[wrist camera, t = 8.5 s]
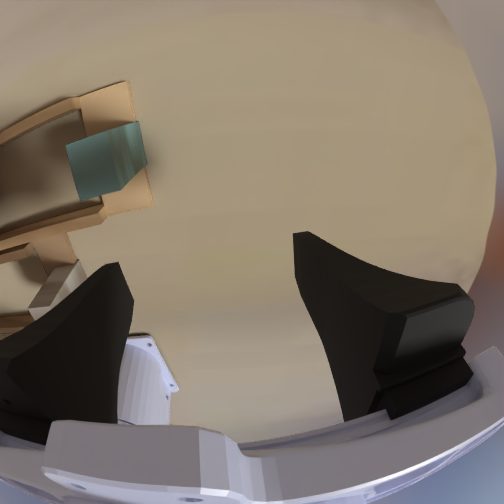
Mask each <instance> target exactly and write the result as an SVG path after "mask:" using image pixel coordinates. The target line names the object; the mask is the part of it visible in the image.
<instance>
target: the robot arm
mask: <svg viewBox="0 0 504 504" xmlns="http://www.w3.org/2000/svg"><path fill="white" fill-rule="evenodd" d="M293 245H294V267H295V278H296V281H297V285H298V288H299V291H300V294H301V297H302V299H303V301H304V303H305V306H306V308H307V310H308V312H309V314H310V316H311V319H312V321H313V323H314V325H315V327H316V329H317V331H318V334H319V336H320V338H321V341H322V343H323V346H324V349H325V352H326V355H327V358H328V361H329V365H330V368H331V371H332V375H333V378H334V382H335V386H336V389H337V393H338V397H339V401H340V405H341V409H342V414H343V418H344V423H340V424H336V425H333V426H329V427H325V428H321V429H317V430H313V431H309V432H304V433H300V434H295V435H290V436H285V437H279V438H274V439H268V440H261V441H255V442H247V443H239V444H236V443H235V442H234V441H232V440H231V439H229V438H228V437H227V436H225V435H224V434H222V433H221V432H218V431H214V430H210V429H206V428H202V427H198V426H183V425H169V414H170V397H171V392H177V391H179V387H178V385H177V383H176V382H175V380H174V378H173V376H172V374H171V373H170V371H169V369H168V367H167V365H166V363H165V361H164V359H163V357H162V356H161V354H160V352H159V350H158V348H157V346H156V344H155V342H154V340H153V338H152V337H151V336H149V335H143V336H132V337H128V334H129V330H130V326H131V322H132V315H133V306H134V299H133V297H132V295H131V292H130V290H129V287H128V285H127V283H126V280H125V278H124V275H123V273H122V270H121V268H120V265H119V262H115V263H109V264H105V265H104V266H102V267H101V268H99V269H98V270H97V271H96V272H94V273H93V274H92V275H91V276H90V277H88V278H87V279H86V280H85V281H84V282H83V283H82V284H80V285H79V286H78V287H77V288H76V289H75V290H74V291H73V292H71V293H70V294H69V295H68V296H67V297H65V298H64V299H63V300H62V301H61V302H60V303H58V304H57V305H56V306H55V307H53V308H52V309H51V310H50V311H48V312H47V313H46V314H44V315H43V316H41V317H40V318H39V319H37V320H35V321H34V322H32V323H31V324H29V325H28V326H26V327H25V328H23V329H21V330H20V331H18V332H16V333H14V334H12V335H10V336H8V337H6V338H5V339H2V340H0V480H1V481H2V482H4V483H6V484H8V485H10V486H12V487H14V488H16V489H18V490H20V491H23V492H25V493H27V494H29V495H32V496H34V497H36V498H39V499H41V500H44V501H46V502H49V503H51V504H367V503H370V502H373V501H375V500H378V499H380V498H383V497H385V496H387V495H390V494H392V493H394V492H396V491H399V490H401V489H403V488H405V487H407V486H409V485H411V484H413V483H415V482H417V481H419V480H421V479H423V478H425V477H427V476H429V475H431V474H432V473H434V472H436V471H438V470H440V469H441V468H443V467H445V466H446V465H448V464H450V463H451V462H453V461H454V460H456V459H458V458H459V457H461V456H462V455H464V454H465V453H467V452H468V451H470V450H471V449H473V448H474V447H476V446H477V445H479V444H480V443H482V442H483V441H484V440H486V439H487V438H488V437H490V436H491V435H492V434H494V433H495V432H496V431H497V430H498V429H499V428H500V427H501V426H502V425H503V424H504V357H503V355H502V354H501V353H500V352H499V350H498V349H497V348H496V346H493V347H491V348H489V349H488V350H486V351H484V352H482V353H481V354H479V355H477V356H475V357H474V358H473V359H472V360H471V361H470V362H469V363H468V364H467V363H466V361H465V360H464V358H463V356H464V355H465V354H466V351H465V349H464V348H463V347H462V345H461V343H462V341H463V339H464V337H465V335H466V333H467V331H468V329H469V327H470V324H471V322H472V319H473V316H474V308H475V306H474V302H473V300H472V299H471V298H470V297H469V296H468V295H467V293H466V292H465V291H464V290H463V289H462V288H461V287H460V286H459V285H458V284H454V283H445V282H436V281H429V280H424V279H419V278H414V277H409V276H405V275H402V274H398V273H395V272H391V271H388V270H385V269H382V268H379V267H377V266H374V265H372V264H369V263H367V262H364V261H362V260H360V259H358V258H356V257H354V256H352V255H350V254H348V253H346V252H344V251H342V250H340V249H338V248H337V247H335V246H333V245H331V244H330V243H328V242H326V241H325V240H323V239H321V238H319V237H318V236H316V235H314V234H312V233H311V232H308V231H306V232H299V233H293ZM149 343H150V344H149Z"/></svg>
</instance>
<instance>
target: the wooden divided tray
mask: <svg viewBox="0 0 504 504" xmlns="http://www.w3.org/2000/svg"><path fill="white" fill-rule="evenodd" d="M80 109H81V111H82V116H83V121H84V126H85V131H86V136H87V137H86V138H83V139H81V140H78V141H75V142H73V143H70V144H68V145H65V146H66V151H67V155H68V159H69V163H70V167H71V170H72V174H73V178H74V181H75V185H76V188H77V192H78V195H79V198H80V201H82V200H86V199H89V198H93V197H97V196H102V199H103V203H104V204H100V205H96V206H92V207H88V208H85V209H81V210H77V211H74V212H70V213H66V214H63V215H59V216H56V217H53V218H49V219H46V220H43V221H39V222H36V223H33V224H30V225H27V226H24V227H21V228H17V229H15V230H12V231H9V232H6V233H3V234H0V251H1V250H4V249H7V248H11V247H14V246H18V245H21V244H25V243H28V242H32V241H35V240H39V239H43V238H47V237H50V236H54V235H58V234H62V233H66V232H70V231H74V230H78V229H82V228H87V227H91V226H95V225H99V224H102V222H103V221H104V220H105V219H106V217H107V216H110V215H114V214H118V213H123V212H127V211H132V210H137V209H141V208H146V207H151V206H153V204H154V202H153V198H152V194H151V190H150V186H149V182H148V177H147V173H146V169H145V165H146V164H147V160H146V155H145V150H144V146H143V141H142V136H141V130H140V125H139V121H137V122H136V120H135V114H134V108H133V102H132V96H131V90H130V83H129V81H124V82H121V83H118V84H115V85H112V86H109V87H106V88H103V89H100V90H97V91H94V92H92V93H89V94H86V95H84V96H81V97H75V98H68V99H66V100H64V101H61V102H59V103H57V104H55V105H52V106H50V107H48V108H46V109H44V110H42V111H40V112H38V113H36V114H34V115H32V116H30V117H28V118H26V119H24V120H22V121H20V122H19V123H17V124H15V125H13V126H11V127H10V128H8V129H6V130H5V131H3V132H1V133H0V147H1V146H3V145H5V144H7V143H8V142H10V141H12V140H14V139H16V138H18V137H20V136H22V135H24V134H25V133H27V132H29V131H31V130H34V129H36V128H38V127H40V126H42V125H44V124H46V123H48V122H51V121H53V120H55V119H58V118H60V117H62V116H65V115H67V114H69V113H72V112H74V111H77V110H80Z"/></svg>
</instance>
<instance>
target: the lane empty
mask: <svg viewBox="0 0 504 504" xmlns="http://www.w3.org/2000/svg"><path fill="white" fill-rule="evenodd" d="M35 249H36V251H37V254H38V256H39V258H40V260H41V263H42V265H43V267H44V269H45V271H46V273H47V275H48V279H47V280H46V282H45V283H44V284H43V286H42V287H41V289H40V290H39V292H38V293H37V295H36V296H35V298H34V299H33V301H32V302H31V304H30V306H29V307H28V310H29V312H30V313H31V315H19V316H6V317H0V334H5V333H16V332H18V331H20V330H21V329H23V328H25V327H26V326H28V325H29V324H31V323H32V322H34V321H35V320H37V319H39V318H40V317H41V316H43V315H44V314H46V313H47V312H48V311H50V310H51V309H52V308H53V307H55V306H56V305H57V304H58V303H60V302H61V301H62V300H63V299H64V298H65V297H67V296H68V295H69V294H70V293H71V292H73V291H74V290H75V289H76V288H77V287H78V286H79V285H80V284H82V283H83V282H84V281H85V280H86V279H87V277H86V274H85V272H84V270H83V268H82V265H81V263H80V261H79V260H77V258H76V256H75V253H74V251H73V249H72V246H71V244H70V241H69V238H68V236H67V233H62V234H58V235H54V236H50V237H47V238H43V239H39V240H35V241H32V242H28V243H25V244H21V245H18V246H14V247H11V248H7V249H4V250H1V251H0V264H3V263H7V262H11V261H15V260H19V259H23V258H27V257H28V256H29V255H30V254H31V253H32V252H33V251H34V250H35Z"/></svg>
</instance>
